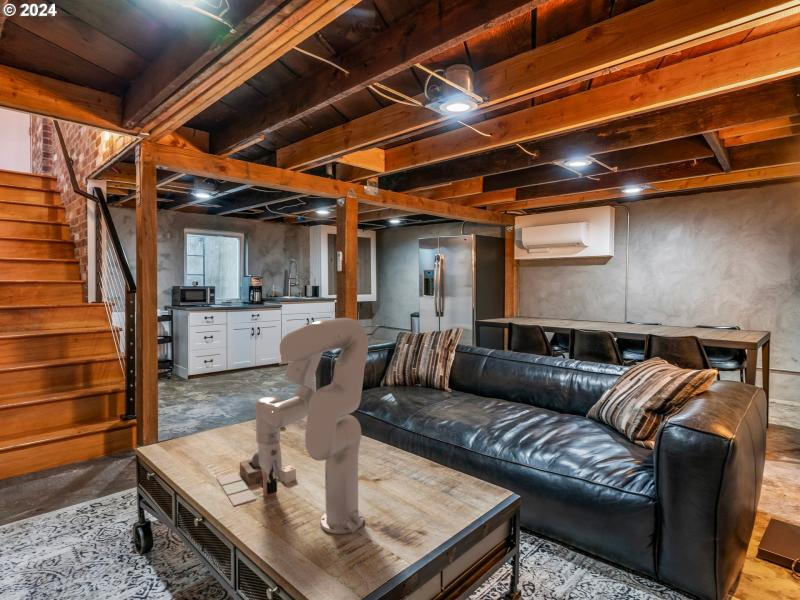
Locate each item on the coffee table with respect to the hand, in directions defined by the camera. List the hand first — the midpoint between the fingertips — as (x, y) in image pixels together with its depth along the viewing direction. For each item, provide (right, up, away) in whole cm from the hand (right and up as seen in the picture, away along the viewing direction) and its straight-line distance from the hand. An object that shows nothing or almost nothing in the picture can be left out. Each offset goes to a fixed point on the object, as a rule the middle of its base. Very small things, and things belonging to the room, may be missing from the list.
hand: (269, 489), depth 143 cm
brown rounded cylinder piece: (0, -2, 0) cm, 2 cm away
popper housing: (-8, -1, +15) cm, 17 cm away
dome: (-8, +1, +15) cm, 17 cm away
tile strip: (-13, -2, +4) cm, 14 cm away
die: (+3, -1, +11) cm, 12 cm away
